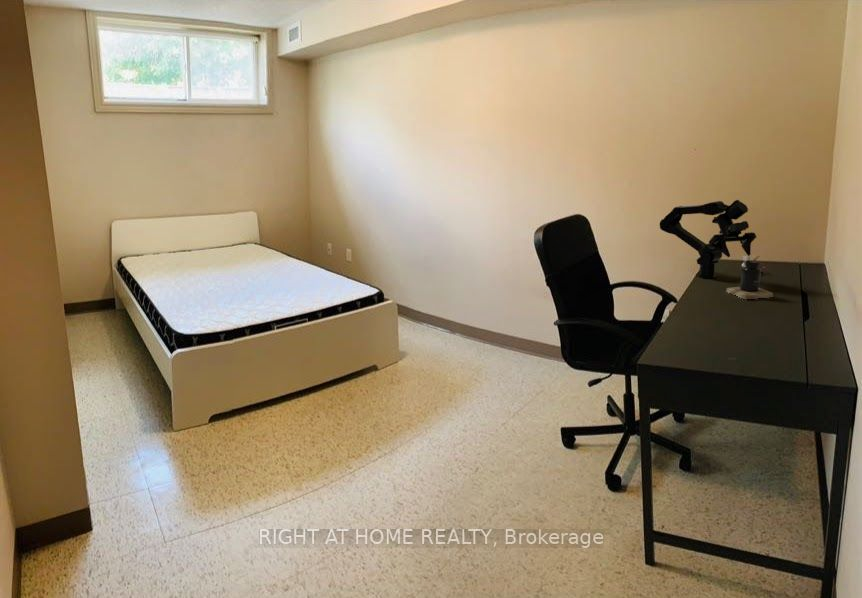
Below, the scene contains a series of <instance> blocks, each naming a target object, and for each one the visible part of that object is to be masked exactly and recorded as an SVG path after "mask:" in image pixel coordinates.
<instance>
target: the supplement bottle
mask: <svg viewBox="0 0 862 598" xmlns="http://www.w3.org/2000/svg"><path fill="white" fill-rule="evenodd" d="M745 266H746V267H744V268H743V267H742V268H741V277H740V282H739V287H740V289H741V290H743V291H747V292H756V291H758V289H759V288H760V281H761V274H762V273H761V270H762V269H761V268H759V266H760V261H758V260H756V261H754V259H752V260H751V259H750V260H748V261H746V264H745ZM760 269H761V270H760Z"/></svg>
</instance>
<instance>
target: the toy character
mask: <svg viewBox="0 0 862 598" xmlns="http://www.w3.org/2000/svg"><path fill="white" fill-rule="evenodd" d="M753 257H754V259H752V258H750V256H748V255H745V256H744V255H742V258H743V259H742V260H743V263H742V264H741V267H742V269H743V268H744V267H746V266H745V264H746V261H748V260H754V261H757V259H759V257H760V256H757V257H755V256H753ZM758 268H759V269H760V270H761V272H764V271H766V267H765V266H763V265H762V266H760V265H759V267H758ZM763 270H764V271H763Z"/></svg>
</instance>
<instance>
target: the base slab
mask: <svg viewBox="0 0 862 598" xmlns="http://www.w3.org/2000/svg"><path fill="white" fill-rule="evenodd" d="M727 292H728V293H727ZM726 293H727V294H729V293H731V294H733V295H732V296H734V295H736V296H738V297H737V298H739V297H740V298H739V299H741V298H743V299H745V300H744V301H747V300H746V299H755V300H759V299H758V298H767V299H770V298H769V297H773V296H774V293H773V292H771V291H768V290H766V289H764V288H760V287H759V289H758V291H756V292H747V291H743V290H741V289H740V286H734V287H733V286H732V287H727V288H726ZM731 294H730V295H731ZM736 296H735V297H736ZM743 299H742V300H743Z"/></svg>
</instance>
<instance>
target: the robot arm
mask: <svg viewBox="0 0 862 598" xmlns="http://www.w3.org/2000/svg"><path fill="white" fill-rule="evenodd" d="M748 212H749V208H748V206H747V205H746V204H745V203H743V202H742V201H740V200H739V199H735V200H734V201H733V202H732V203H731V204H730V205H728V204H725V203H724V202H723V201H721V200H717V201H713V202H708V203H704V204H698V205H687V206H682V205H680V206H675V207H674V208H673V209H672V210H671V211H670V212H669V213H668V214H667V215H665V216H664V218H662V219H661V220H660V222H659V229H660V230H661V231H663V232H665V233H667V234H671V235H674V236H676V237H677V238H678V239H680V240H681V241H683V242H684V243H685V244H687V245H688V246H690V247H691V248H692V249H693V250H695V251H697V252H698V254H699V257H697V259H696V264H697V265H699V272H698V274H695V275H696V277H698V278H701V279H704V280H705V279H706V280H707V279H714V278H715V279H716V278H717V275H715V270H716V269H715V268H716V267H715V264H718V262H719V261H720V260H721V259H722V258H723V255H725V256H726V257H727V258H730V256H731V254H730V250H729V248H728V246H727V243H730V242H733V243H734V242H739V243H740V244H741V248H742V249H743V251H744V252H745V253H746V254H747V255H746V256H749V257H750V256H751V253H752V252H751V248H752V247H751V245H752V243H753V242H754V241H755V240H756V238H757V235H756V232H753V231H751V232H744V233H743V235H741V234H742V231H746V230H747V229H749V227H750V226H749V222H748V221H747V220H744V221H741V222H734V221H733V220H738V219H740V218H741V217H742V216H744V215H745V214H747V213H748ZM695 214H697V215H698V214H703V215H708V216H714V217H713V219H712V221H711V223H712V224H716V225H718V228H719V231H718V233H719V234H718V233H717V234H714V235H713V236H712V237H711V238H710V239H709V241H708V243H705V242H704V241H702V240H701V239H699V238H698V237H697V236H696V235H694V234H693V233H691V232H689V231H688V230H687V229H685V228H684V227H683V226H682V224H681V220H682V218H683V216H684V215H695ZM716 215H717V216H716ZM740 235H741V236H740Z"/></svg>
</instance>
